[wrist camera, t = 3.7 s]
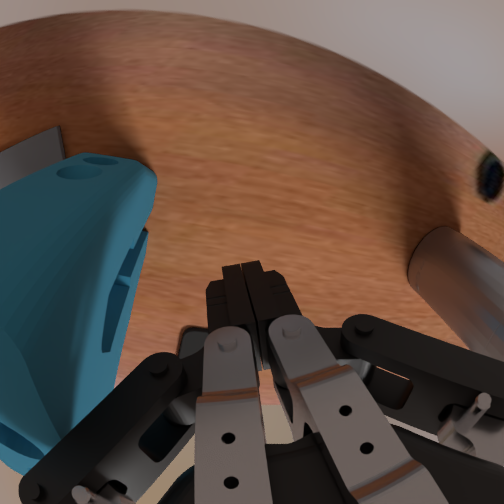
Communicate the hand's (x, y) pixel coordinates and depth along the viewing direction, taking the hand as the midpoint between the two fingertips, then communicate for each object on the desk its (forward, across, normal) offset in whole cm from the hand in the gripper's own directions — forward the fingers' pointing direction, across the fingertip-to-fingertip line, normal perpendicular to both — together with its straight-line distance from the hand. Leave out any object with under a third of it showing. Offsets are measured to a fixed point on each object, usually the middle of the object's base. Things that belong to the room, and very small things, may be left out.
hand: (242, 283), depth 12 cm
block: (+13, +8, 0) cm, 16 cm away
